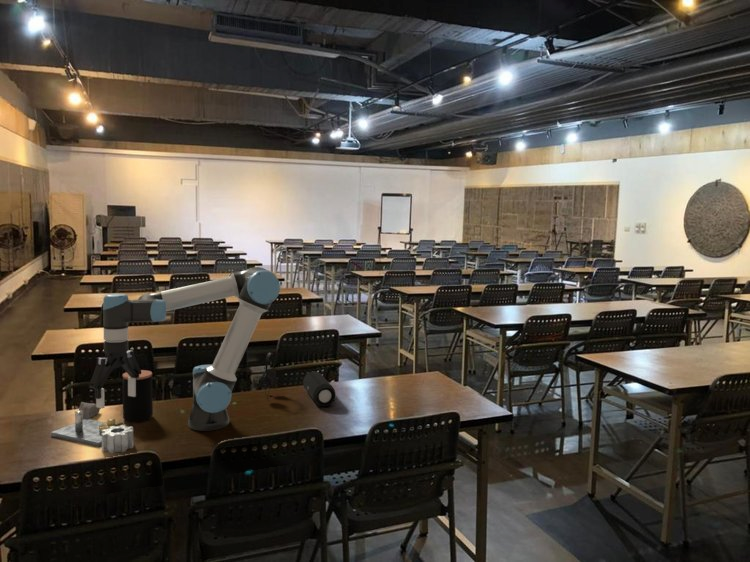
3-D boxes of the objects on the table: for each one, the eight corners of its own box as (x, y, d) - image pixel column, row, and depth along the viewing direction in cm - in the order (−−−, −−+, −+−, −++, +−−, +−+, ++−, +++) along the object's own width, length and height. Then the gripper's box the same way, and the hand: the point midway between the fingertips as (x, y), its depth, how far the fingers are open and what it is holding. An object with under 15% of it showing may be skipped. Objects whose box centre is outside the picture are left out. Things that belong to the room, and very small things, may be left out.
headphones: (282, 403, 242) (283, 358, 239) (256, 402, 242) (257, 357, 239) (288, 392, 256) (289, 350, 254) (264, 391, 257) (264, 349, 254)
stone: (100, 419, 215) (99, 405, 215) (76, 422, 212) (76, 407, 212) (101, 411, 224) (100, 397, 224) (78, 413, 221) (78, 399, 220)
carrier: (131, 431, 204) (131, 409, 203) (98, 446, 190) (98, 422, 189) (86, 422, 212) (85, 400, 211) (51, 436, 198) (50, 413, 197)
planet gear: (139, 444, 193) (139, 427, 193) (117, 455, 184) (117, 437, 183) (117, 439, 197) (117, 423, 196) (95, 450, 187) (94, 432, 187)
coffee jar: (158, 416, 221) (158, 372, 219) (139, 425, 211) (138, 378, 209) (137, 412, 224) (136, 368, 222) (116, 421, 214) (116, 375, 212)
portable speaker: (301, 391, 259) (301, 370, 258) (322, 390, 263) (322, 369, 262) (314, 409, 235) (314, 386, 234) (336, 407, 239) (337, 385, 238)
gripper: (135, 332, 199) (135, 390, 202) (75, 346, 176) (77, 411, 178) (152, 334, 197) (152, 393, 199) (93, 348, 173) (94, 414, 176)
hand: (116, 401), depth 189 cm, fingers open, 13 cm apart
